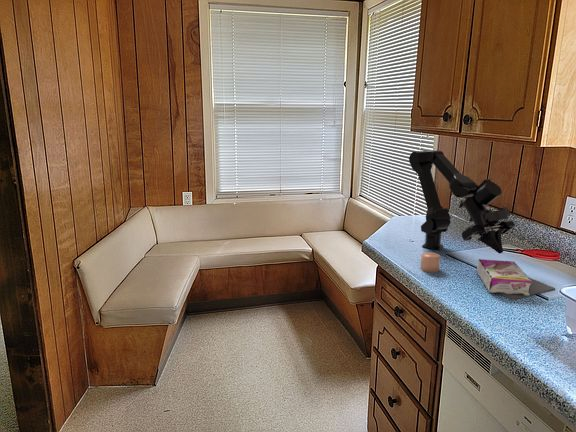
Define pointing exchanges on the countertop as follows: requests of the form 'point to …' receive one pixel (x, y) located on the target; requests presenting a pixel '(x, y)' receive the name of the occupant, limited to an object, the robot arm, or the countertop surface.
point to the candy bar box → (503, 277)
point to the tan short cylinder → (430, 262)
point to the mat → (531, 290)
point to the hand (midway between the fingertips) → (501, 252)
